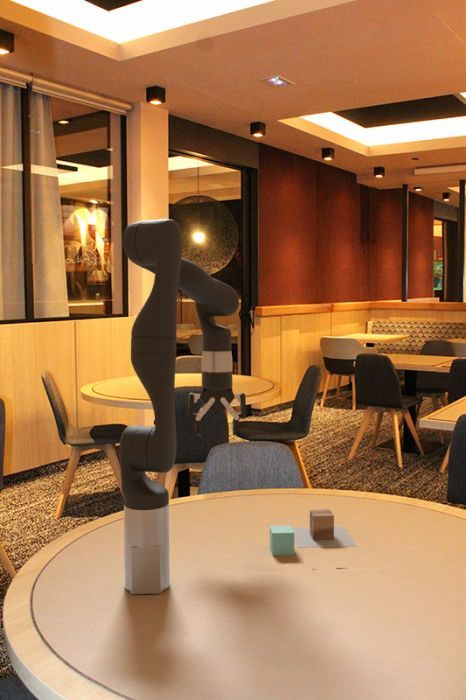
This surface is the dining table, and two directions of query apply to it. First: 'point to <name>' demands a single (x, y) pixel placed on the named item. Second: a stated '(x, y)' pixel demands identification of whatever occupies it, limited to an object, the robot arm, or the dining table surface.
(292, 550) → the teal brick
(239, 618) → the dining table surface
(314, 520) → the walnut brick
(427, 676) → the dining table surface
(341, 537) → the plate
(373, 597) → the dining table surface
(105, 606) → the dining table surface
